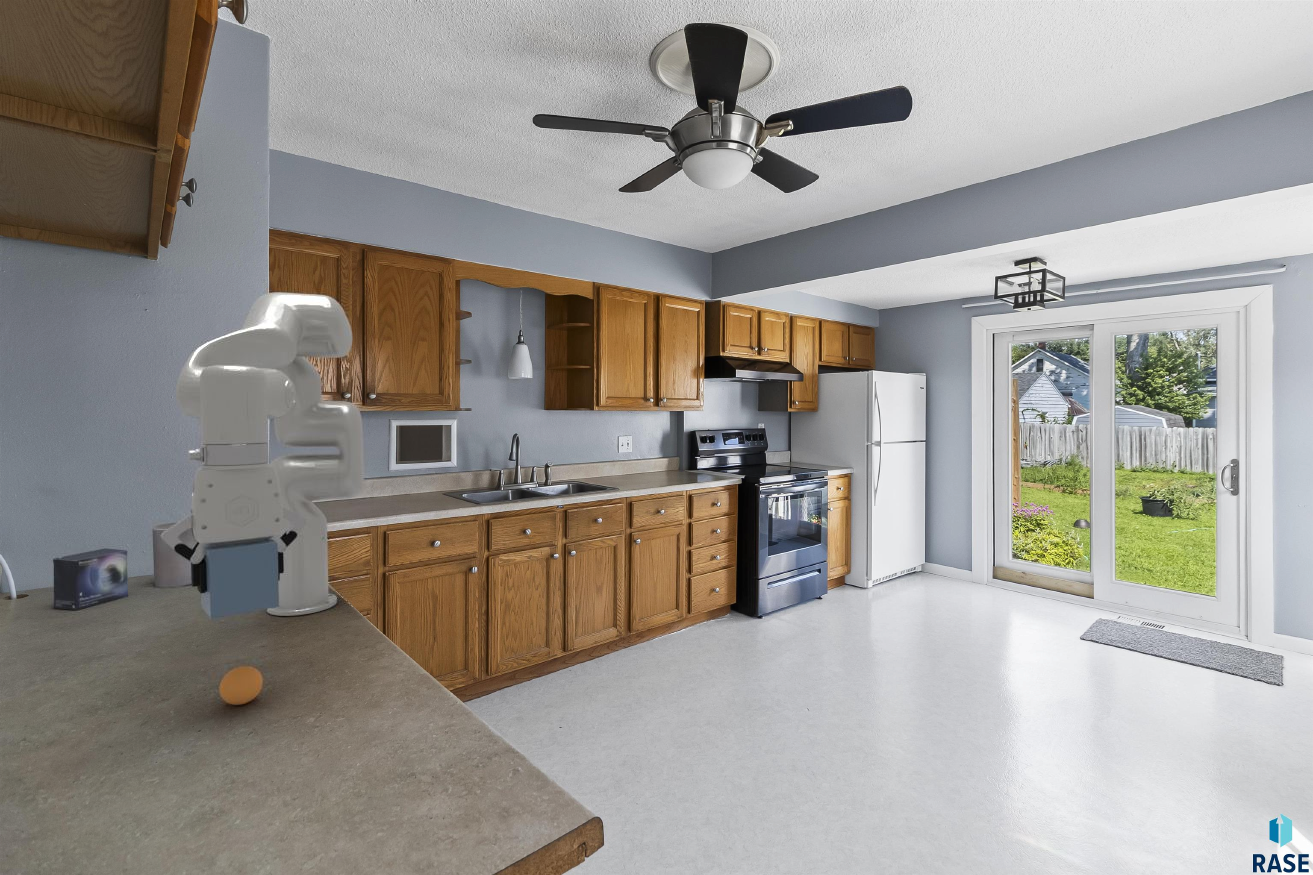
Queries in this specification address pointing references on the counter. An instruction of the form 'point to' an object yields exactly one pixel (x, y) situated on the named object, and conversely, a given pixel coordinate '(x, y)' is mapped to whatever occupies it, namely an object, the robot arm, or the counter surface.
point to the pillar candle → (171, 559)
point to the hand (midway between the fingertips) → (239, 584)
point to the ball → (241, 685)
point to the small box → (90, 578)
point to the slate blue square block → (241, 578)
